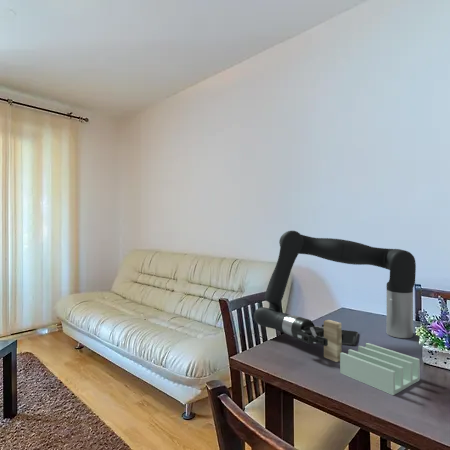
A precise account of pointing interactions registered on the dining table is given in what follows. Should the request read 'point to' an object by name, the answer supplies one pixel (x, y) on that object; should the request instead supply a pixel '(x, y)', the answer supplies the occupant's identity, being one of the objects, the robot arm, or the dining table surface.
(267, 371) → the dining table surface
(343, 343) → the phone
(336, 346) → the tan wooden block
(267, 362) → the dining table surface
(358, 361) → the slotted rack
